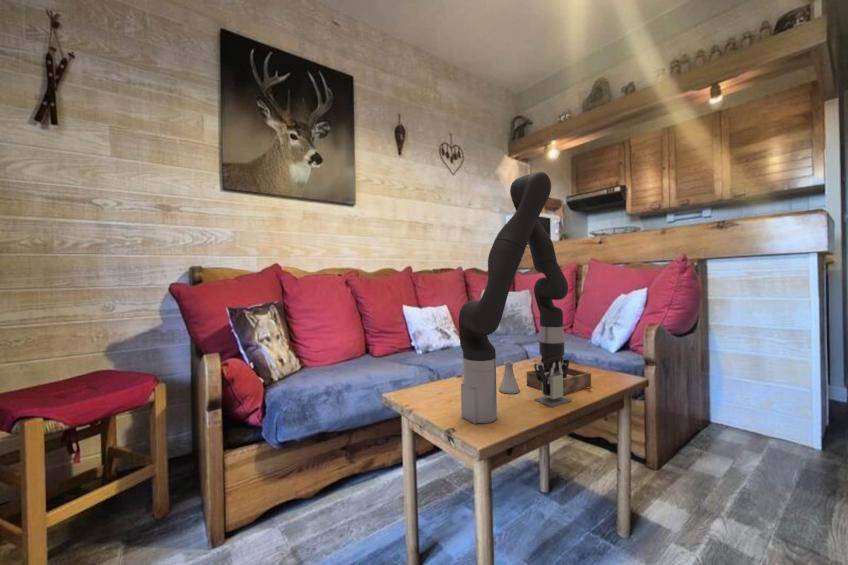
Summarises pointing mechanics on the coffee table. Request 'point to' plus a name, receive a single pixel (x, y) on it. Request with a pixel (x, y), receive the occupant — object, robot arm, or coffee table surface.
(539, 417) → the coffee table surface
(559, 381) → the block
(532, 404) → the coffee table surface
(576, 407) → the coffee table surface
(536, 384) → the crate
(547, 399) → the pad
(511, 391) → the flask
